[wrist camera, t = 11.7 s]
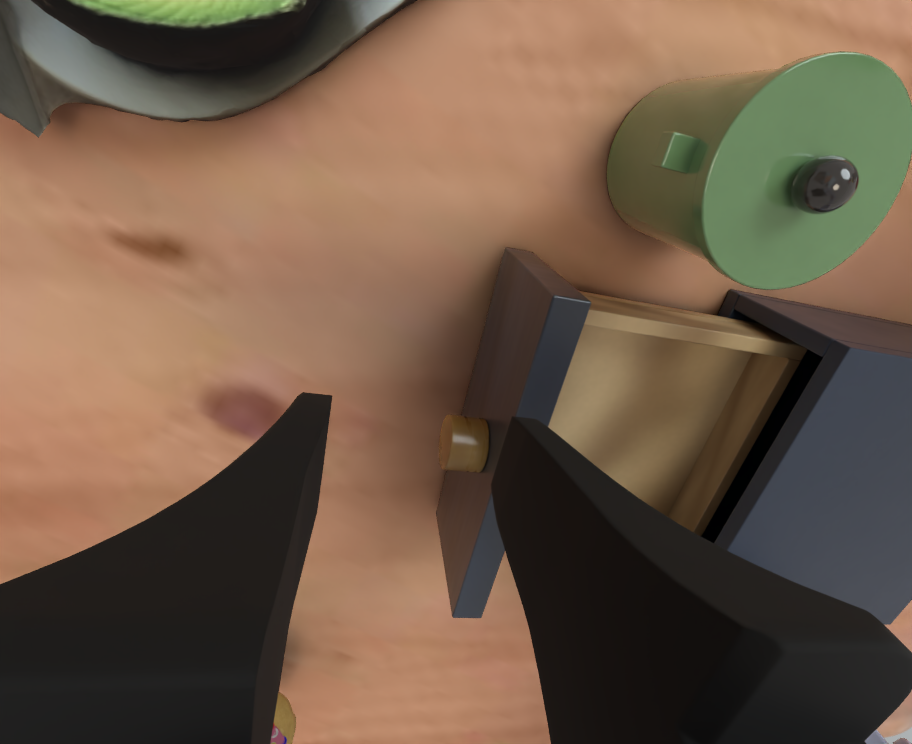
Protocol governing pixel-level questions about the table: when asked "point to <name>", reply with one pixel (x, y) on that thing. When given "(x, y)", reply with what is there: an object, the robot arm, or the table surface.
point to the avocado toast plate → (169, 53)
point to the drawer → (603, 405)
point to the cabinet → (830, 460)
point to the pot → (766, 165)
